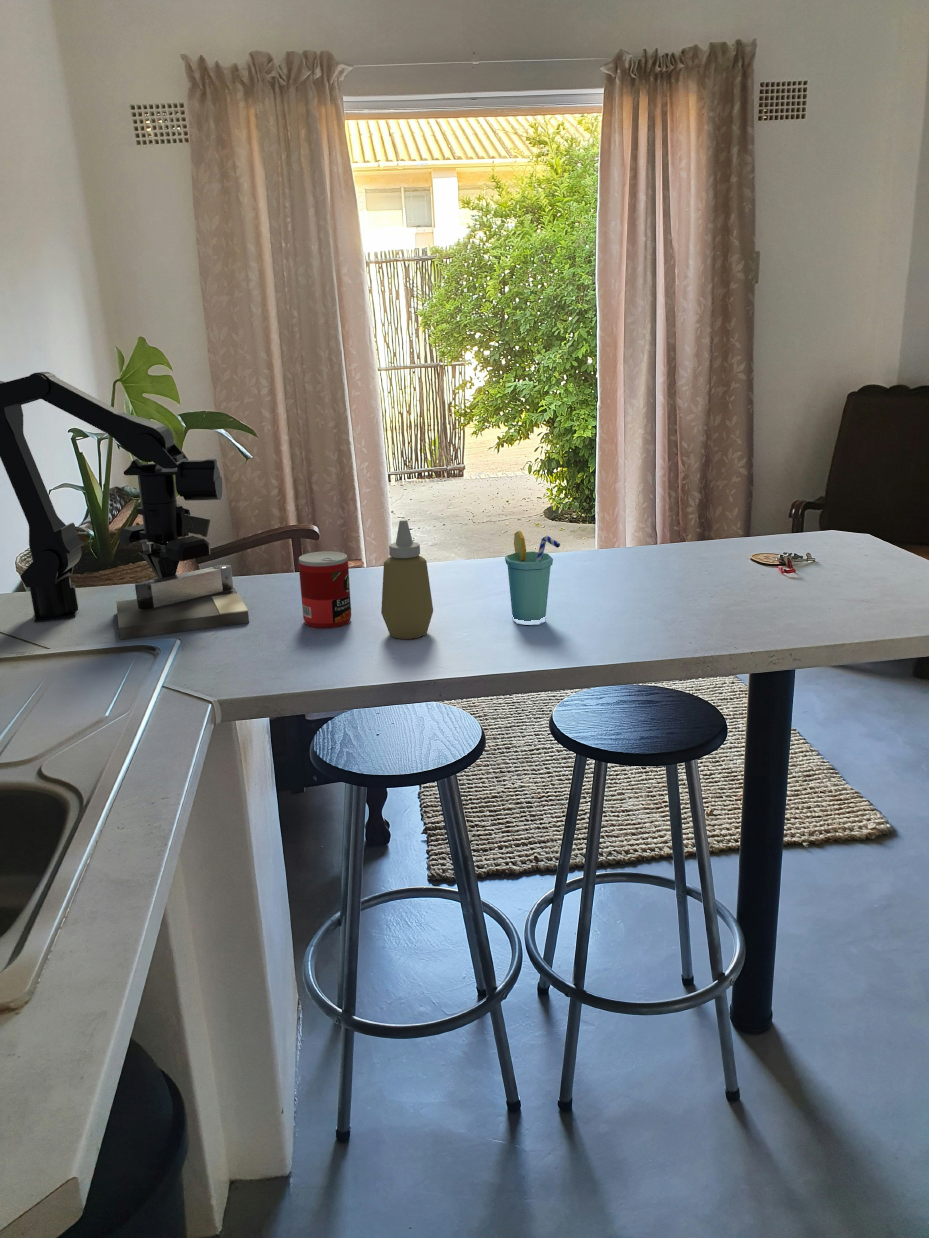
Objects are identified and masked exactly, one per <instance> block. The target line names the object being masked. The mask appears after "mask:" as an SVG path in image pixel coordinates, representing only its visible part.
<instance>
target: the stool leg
mask: <svg viewBox="0 0 929 1238" xmlns="http://www.w3.org/2000/svg"><path fill="white" fill-rule="evenodd" d="M232 572H233V571H232V566H231V565H230V564H219V565H218V564H217V565H215V566H211V567H206V568H202V569H197V570H191V571H189V572H188V571H187V572H183V573H179V574H176V575H173V576H168V577H164V578H159V579H158V578H156V579H150V580H146V581H139V582H137V583H134V589H135V595H136V599H137V604H138V609H151V608H154V607H159V606H163V605H167V604H171V603H176V602H180V601H184V600H188V599H193V598H197V597H201V596H205V595H209V594H214V593H218V592H222V591H229V590H232V589H233V588H234V580H233V579H234V578H233V573H232Z"/></svg>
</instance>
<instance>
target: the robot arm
mask: <svg viewBox="0 0 929 1238" xmlns="http://www.w3.org/2000/svg"><path fill="white" fill-rule="evenodd" d="M38 400H42V401H44V402H46V403H47V404H50V405H52V406H54V407H56V408H57V409H60V410H62V411H63V412H65V413H67V414H68V415H71V416H73V417H76V418H77V419H79V420H81V421H82V422H85V423H87V424H88V425H90V426H92V427H94V428H95V429H97V430H100V431H101V432H103V433H105V434H107V435H108V436H110V437H111V438H112V439H113V440H114V441H115V442H117V444H118V445H120V447H122V448H123V449H124V450H125V451H127V452H128V453H129V454H131V455H132V456H134V457H135V459H132V460H131V463H130V464H129V466H128V467H127V468H126V469H124V471H123V475H124V476H137V483H138V490H139V491H138V492H139V499H140V506H139V507H136V508H135V511H136V514H137V515H141V516H142V517H141V518H142V524H137V525H131V526H127V527H122V528H121V530H120V531H119V533H118V540H119V545H120V546H124V547H128V548H129V547H132V545H133V543H136V542H140V543H142V545H141V547H142V550H139V551H138V554H139V555H140V556H142V558H143V559H144V560H145V562H146V564H148V566H149V568H150V569H151V571H152V572H153V573H154V575H155V577H156V579H159V578H164V577H168V576H173V575H177V572H178V571H177V570H178V567H179V564H180V562H186V561H190V560H194V559H197V558H203V557H206V556H210V555H211V547H210V546H211V545H210V542H209V541H208V540H206V539H205V538H207V537H208V534H209V529H210V523H211V519H210V518H206V517H205V518H204V517H201V516H196V515H191V512H190V511H191V510H190V509H189V508H184V506H182V505H180V504H178V502H177V494H178V495H179V497H183V499H184V501H185V502H186V501H187V502H190V501H193V502H194V501H221V500H222V496H223V477H222V476H221V471H220V469H219V467H218V460H217V459H216V458H207V459H206V458H205V459H195V460H194V459H189V458H188V456H186V454H185V453H184V452H183V451H182V450H181V449H180V448H179V446H178V445H177V444H176V443H175V442H174V436H173V433H172V431H171V430H170V429H169V427H167V426H166V425H164V424H162V423H159V422H157V421H154V420H151V419H147V418H145V417H141V416H137V415H132V414H129V413H126V412H123V411H121V410H120V409H117V408H115V407H113V406H111V405H110V404H107V403H106V402H104V401H102V400H100V399H98V398H97V397H94V396H92V395H91V394H89V393H87V392H85V391H84V390H82V389H79V388H77V387H75V386H73V385H72V384H70V383H68V382H66V381H64V380H62V379H60V378H59V377H57V376H56V374H54V373H52V372H49V371H39V372H33V373H31V374H30V375H27V376H24V377H20V378H17V379H13V380H9V381H3V380H0V460H1V463H2V465H3V467H4V470H5V472H6V474H7V477H8V479H9V481H10V484H11V486H12V488H13V489H12V490H13V491H14V493H15V496H16V498H17V500H18V503H19V505H20V508H21V509H22V513H23V515H24V517H25V519H26V522H27V526H28V546H29V551H30V555H31V560H32V562H31V563H30V564H29V565H28V566H27V568H26V569H25V570H24V571H23V572H22V574H20V576H19V577H20V579H21V581H22V582H23V584H24V586H25V587H26V588H29V592H30V597H31V604H32V609H33V622H34V623H35V622H37V623H38V622H46V621H52V620H53V621H54V620H62V619H69V618H70V619H71V618H75V617H76V615H77V612H78V611H79V603H78V595H77V590H76V585H75V584H72V583H71V581H72V580H71V576H70V575H73V573H74V572H73V571H74V567H75V565H77V564H78V562H80V559H81V557H82V555H83V554H82V553H83V551H82V547H81V546H83V545H84V542H83V541H82V540H81V539H80V537H79V535H78V532H77V527H76V524H75V523H74V522H71V523H68V524H66V523H65V522H64V521H62V519H60V518H59V516H58V515H57V513H56V510H55V507H54V505H53V503H52V500H51V498H50V495H49V493H48V490H47V488H46V486H45V483H44V480H43V478H42V475H41V473H40V471H39V469H38V466H37V463H36V461H35V459H34V456H33V454H32V451H31V449H30V447H29V445H28V442H27V439H26V436H25V434H24V411H23V407H22V405H23V406H24V405H27V404H29V403H33V402H36V401H38ZM141 461H142V462H141ZM143 462H145V463H143ZM176 493H177V494H176ZM190 534H192V535H190ZM195 535H197V536H195ZM198 535H200V536H201V537H198ZM180 537H181V538H180ZM202 537H204V538H202Z"/></svg>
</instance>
